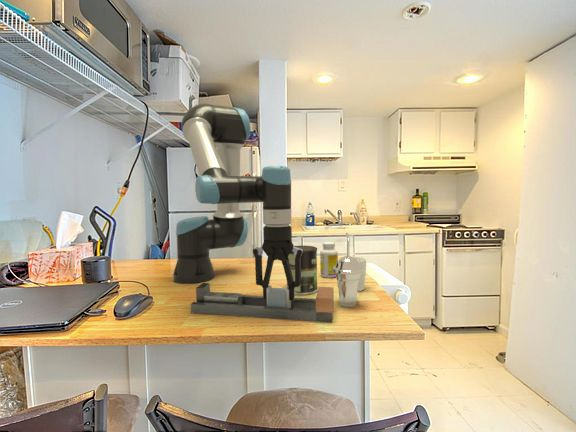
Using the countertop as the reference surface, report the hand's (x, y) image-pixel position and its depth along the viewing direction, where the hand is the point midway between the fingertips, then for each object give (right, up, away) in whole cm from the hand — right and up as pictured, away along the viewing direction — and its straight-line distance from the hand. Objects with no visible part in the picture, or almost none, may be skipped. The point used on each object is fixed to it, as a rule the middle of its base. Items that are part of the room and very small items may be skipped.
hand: (279, 310), depth 80 cm
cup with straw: (+20, 0, +5) cm, 21 cm away
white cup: (+25, +1, +19) cm, 31 cm away
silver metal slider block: (-17, 0, +3) cm, 17 cm away
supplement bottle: (+18, +2, +34) cm, 39 cm away
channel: (-4, 0, +1) cm, 5 cm away
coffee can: (+7, +1, +18) cm, 19 cm away
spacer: (0, 0, 0) cm, 0 cm away
